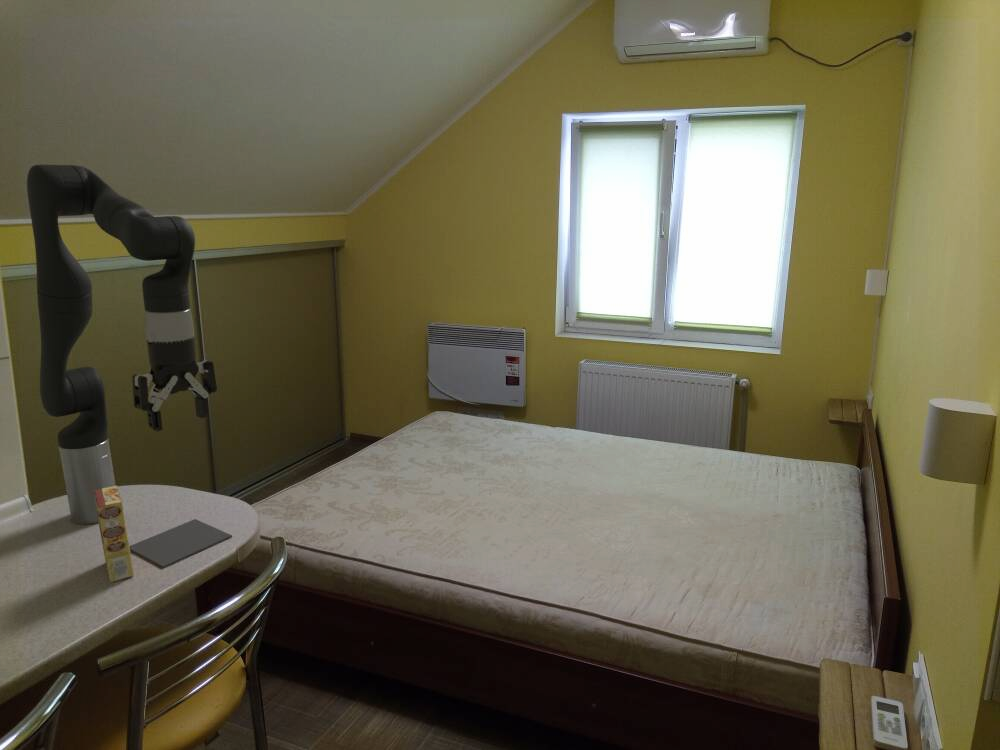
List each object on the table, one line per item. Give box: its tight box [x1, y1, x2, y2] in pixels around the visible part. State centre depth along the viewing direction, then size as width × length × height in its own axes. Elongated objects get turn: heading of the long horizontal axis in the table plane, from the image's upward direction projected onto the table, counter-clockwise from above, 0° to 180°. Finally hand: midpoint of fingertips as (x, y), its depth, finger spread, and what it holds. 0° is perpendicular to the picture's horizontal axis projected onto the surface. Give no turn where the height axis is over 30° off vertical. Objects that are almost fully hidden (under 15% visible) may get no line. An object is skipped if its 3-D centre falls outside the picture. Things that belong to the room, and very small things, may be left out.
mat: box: [129, 518, 233, 569], centre depth 143 cm, size 13×15×1 cm
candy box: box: [94, 485, 135, 583], centre depth 131 cm, size 9×4×15 cm, turn 34°
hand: (179, 423), depth 125 cm, fingers open, 8 cm apart
